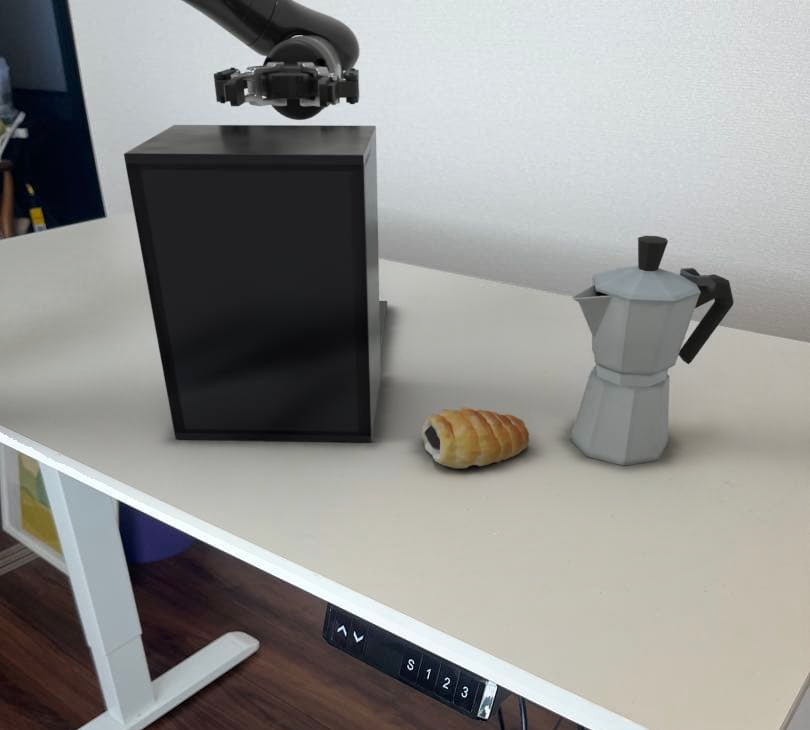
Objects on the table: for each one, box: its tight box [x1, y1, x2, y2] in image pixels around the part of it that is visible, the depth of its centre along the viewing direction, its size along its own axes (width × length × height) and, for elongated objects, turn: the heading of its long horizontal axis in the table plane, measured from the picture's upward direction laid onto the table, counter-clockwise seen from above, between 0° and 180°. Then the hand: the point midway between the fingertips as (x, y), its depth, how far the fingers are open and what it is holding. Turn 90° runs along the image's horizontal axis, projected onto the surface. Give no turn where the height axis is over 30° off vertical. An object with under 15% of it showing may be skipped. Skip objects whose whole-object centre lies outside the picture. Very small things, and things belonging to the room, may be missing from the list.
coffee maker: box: [569, 235, 734, 466], centre depth 69 cm, size 15×9×18 cm, turn 106°
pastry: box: [420, 407, 530, 470], centre depth 72 cm, size 9×7×4 cm
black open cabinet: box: [123, 124, 388, 443], centre depth 82 cm, size 36×18×24 cm, turn 178°
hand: (277, 94), depth 77 cm, fingers open, 8 cm apart
